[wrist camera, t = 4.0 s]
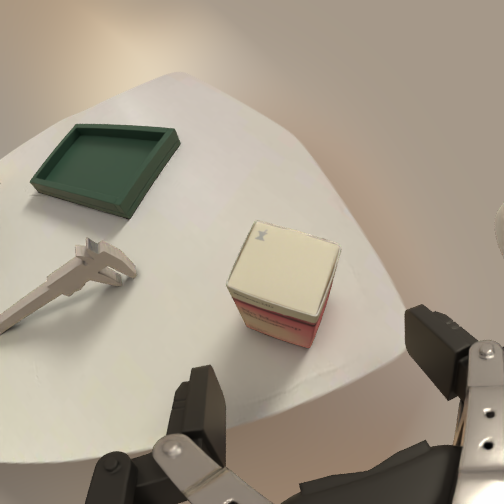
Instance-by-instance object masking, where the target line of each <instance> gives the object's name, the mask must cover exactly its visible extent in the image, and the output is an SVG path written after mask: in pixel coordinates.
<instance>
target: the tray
mask: <svg viewBox="0 0 504 504" xmlns="http://www.w3.org/2000/svg"><path fill="white" fill-rule="evenodd" d="M180 144H181V143H180V140H179V139H178V136H177V133H176V130H175V129H173V128H162V127H149V126H133V125H110V124H76V125H75V126H74V127H73V128H72V129H71V130H70V132H69V133H68V134H67V135H66V136H65V137H64V139H63V140H62V141H61V142H60V143H59V144H58V146H57V147H56V148H55V149H54V151H53V152H52V153H51V154H50V156H49V157H48V158H47V159H46V161H45V162H44V163H43V164H42V166H41V167H40V168H39V170H38V171H37V172H36V174H35V175H34V176H33V178H32V179H31V180H30V183H31V184H32V185H33V186H34V188H35V189H36V190H37V191H38V192H40V193H43V194H46V195H50V196H53V197H57V198H60V199H63V200H67V201H70V202H73V203H77V204H80V205H84V206H87V207H90V208H94V209H97V210H101V211H104V212H107V213H111V214H114V215H118V216H121V217H124V218H128V219H130V218H131V216H132V215H133V213H134V211H135V210H136V208H137V207H138V205H139V204H140V202H141V201H142V199H143V197H144V196H145V194H146V193H147V191H148V190H149V188H150V187H151V185H152V184H153V182H154V181H155V179H156V178H157V176H158V175H159V173H160V172H161V171H162V169H163V168H164V166H165V165H166V163H167V162H168V161H169V159H170V158H171V156H172V155H173V154H174V152H175V151H176V149H177V148H178V147H179V145H180Z"/></svg>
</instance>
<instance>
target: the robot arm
mask: <svg viewBox="0 0 504 504" xmlns="http://www.w3.org/2000/svg"><path fill="white" fill-rule="evenodd" d="M405 345H406V349H407V351H408V353H409V355H410V356H411V357H412V358H413V359H414V361H415V362H416V363H417V364H418V365H419V367H420V368H421V369H422V370H423V371H424V372H425V374H426V375H427V376H428V377H429V378H430V379H431V381H432V382H433V383H434V384H435V386H436V387H437V388H438V389H439V390H440V392H441V393H442V394H443V395H444V396H445V397H446V399H447V400H448V401H449V400H451V399H453V398H455V397H457V396H458V397H459V398H460V403H459V410H458V417H457V424H456V430H455V436H454V441H453V445H440V446H433V447H430V446H429V444H428V443H427V441H426V440H424V441H422V442H420V443H418V444H415V445H413V446H411V447H409V448H407V449H404V450H402V451H399V452H397V453H396V454H394V455H393V456H391V457H389V458H388V459H387V460H385V461H383V462H382V463H380V464H379V465H377V466H376V467H374V468H372V469H370V470H368V471H364V472H356V473H348V474H339V475H331V476H327V477H324V478H320V479H316V480H312V481H308V482H304V483H300V484H299V485H300V490H301V492H299V493H297V494H295V495H293V496H292V497H290V498H288V499H287V500H285V501H284V502H282V503H281V504H504V347H502V346H501V345H500V344H499V343H497V342H495V341H491V340H482V341H478V340H477V339H475V338H474V337H473V336H472V335H470V334H469V333H468V332H467V331H465V330H464V329H463V328H462V327H459V325H458V324H457V323H456V322H453V320H452V319H451V318H449V317H448V316H447V315H445V314H442V313H439V312H436V311H435V312H432V311H430V310H429V309H428V308H427V307H426V306H424V305H422V304H421V305H418V306H416V307H413V308H410V309H408V310H406V311H405ZM187 500H188V501H189V502H190V503H191V504H273V503H272V502H271V501H269V500H268V499H267V498H265V497H264V496H263V495H261V494H260V493H259V492H257V491H256V490H255V489H253V488H252V487H251V486H249V485H248V484H247V483H246V482H244V481H243V480H242V479H241V478H240V477H238V476H237V475H236V474H235V473H233V472H232V471H231V470H230V469H228V468H227V467H226V403H225V398H224V395H223V392H222V390H221V387H220V385H219V382H218V380H217V377H216V375H215V372H214V370H213V368H212V366H211V365H206V366H201V367H196V368H192V370H191V375H190V381H187V382H182V383H181V385H180V386H179V387H178V389H177V390H176V391H175V396H174V402H173V405H172V410H171V415H170V419H169V424H168V429H167V434H166V436H164V437H163V438H161V439H160V440H158V441H157V442H156V444H155V445H154V447H153V450H152V452H151V453H149V454H146V455H143V456H140V457H137V458H133V459H130V458H129V456H128V455H127V454H125V453H123V452H119V451H115V452H110V453H108V454H106V455H104V456H103V457H101V458H100V460H99V461H98V462H97V464H96V466H95V470H94V473H93V476H92V480H91V483H90V487H89V490H88V494H87V498H86V501H85V504H178V503H181V502H184V501H187Z"/></svg>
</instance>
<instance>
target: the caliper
mask: <svg viewBox="0 0 504 504" xmlns="http://www.w3.org/2000/svg"><path fill="white" fill-rule="evenodd" d="M75 253H76V257H74V258H73V259H71V260H70V261H69V262H67V263H66V264H64V265H63V266H61V267H60V268H59V269H57V270H56V271H54V272H53V273H52V274H50V275H49V276H47V281H46V282H45V283H43V284H42V285H40V286H39V287H38V288H36V289H35V290H33V291H32V292H30V293H29V294H28V295H26V296H25V297H23V298H22V299H21V300H19V301H18V302H17V303H15V304H14V305H13V306H11V307H10V308H8V309H7V310H6V311H4V312H3V313H2V314H1V315H0V334H2V333H3V332H5V331H6V330H7V329H9V328H10V327H12V326H13V325H15V324H16V323H18V322H19V321H21V320H22V319H24V318H25V317H27V316H28V315H30V314H31V313H33V312H34V311H36V310H38V309H39V308H41V307H42V306H44V305H45V304H47V303H49V302H50V301H52V300H53V299H55V298H57V297H58V296H60V295H61V294H63V295H66V296H71V295H72V294H73V293H74V292H76V291H79V290H81V288H82V287H83V286H84V285H85V283H86V282H88V281H90V280H92V281H96V282H100V283H105V284H109V285H114V286H121V285H122V279H121V275H120V274H118V273H116V272H115V271H114V270H112V269H110V268H108V267H107V266H109V267H111V268H113V269H115V270H117V271H119V272H121V273H123V274H125V275H127V276H129V277H131V278H133V279H134V278H135V277H136V276H137V274H136V268H135V265H134V264H133V262H132V261H131V260H130V259H129V258H128V257H127V256H126V255H125V254H124V253H123V252H122V251H121V250H120V249H118V248H116V247H114V246H112V245H110V244H109V243H107V242H105V241H103V240H102V241H101V242H99V243H95V242H94V241H92V240H90V239H89V238H86V246H81V245H75Z"/></svg>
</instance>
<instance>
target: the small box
mask: <svg viewBox="0 0 504 504" xmlns="http://www.w3.org/2000/svg"><path fill="white" fill-rule="evenodd" d="M341 249H342V247H341V245H340V244H338V243H335V242H332V241H329V240H326V239H322V238H319V237H316V236H313V235H309V234H306V233H303V232H300V231H297V230H293V229H289V228H285V227H281V226H278V225H274V224H270V223H266V222H263V221H260V220H255V221H254V223H253V225H252V227H251V230H250V231H249V233H248V235H247V238H246V240H245V242H244V244H243V246H242V248H241V250H240V252H239V254H238V257H237V259H236V261H235V263H234V266H233V268H232V270H231V273H230V275H229V277H228V280H227V282H226V286H227V288H228V290H229V292H230V294H231V296H232V298H233V300H234V302H235V304H236V306H237V308H238V310H239V312H240V314H241V316H242V318H243V320H244V322H245V324H246V326H247V327H249V328H251V329H254V330H256V331H259V332H261V333H264V334H266V335H269V336H272V337H274V338H277V339H280V340H283V341H286V342H289V343H292V344H296V345H299V346H302V347H305V348H310V347H311V345H312V343H313V340H314V338H315V335H316V333H317V330H318V327H319V325H320V322H321V319H322V316H323V313H324V310H325V307H326V304H327V301H328V297H329V294H330V290H331V287H332V282H333V278H334V275H335V271H336V267H337V263H338V260H339V256H340V253H341Z"/></svg>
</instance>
